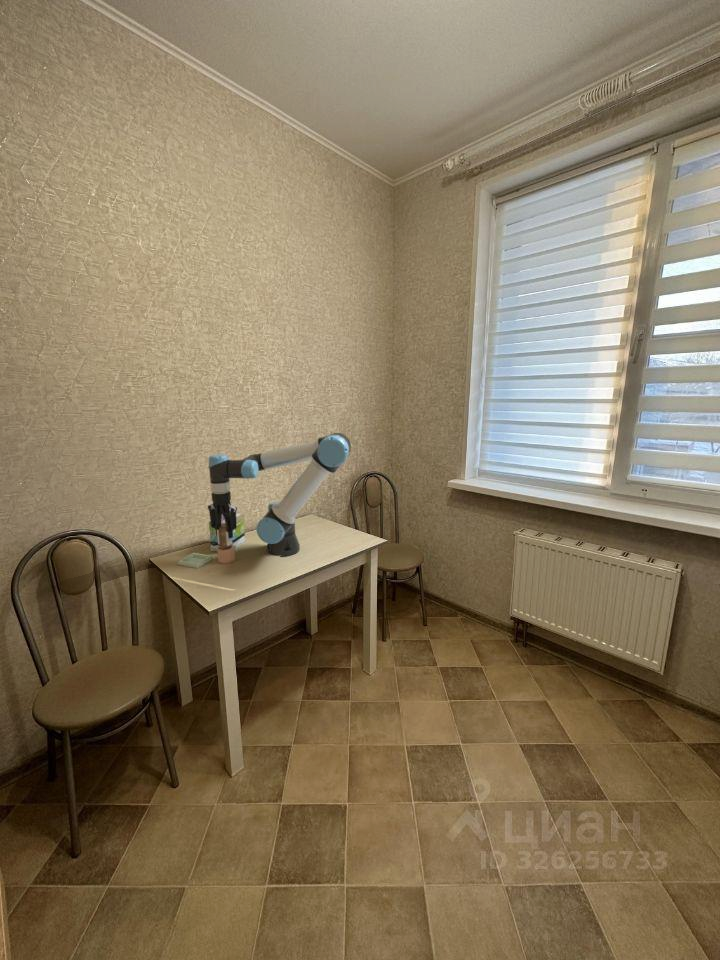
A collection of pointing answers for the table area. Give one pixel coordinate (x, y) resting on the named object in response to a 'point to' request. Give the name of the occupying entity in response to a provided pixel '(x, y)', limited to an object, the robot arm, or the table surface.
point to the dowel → (223, 538)
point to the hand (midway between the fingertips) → (225, 543)
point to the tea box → (237, 533)
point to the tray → (195, 560)
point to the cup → (226, 554)
